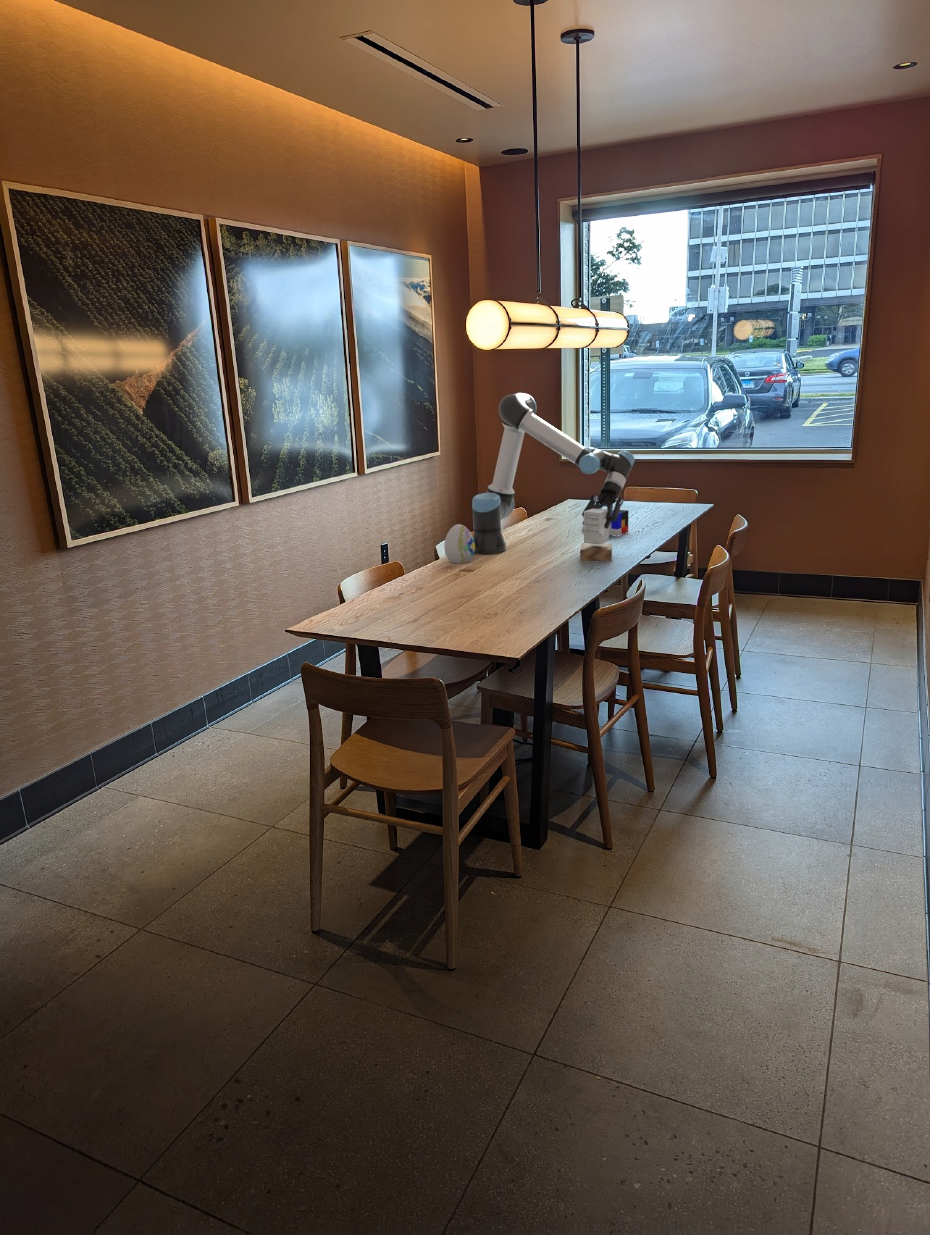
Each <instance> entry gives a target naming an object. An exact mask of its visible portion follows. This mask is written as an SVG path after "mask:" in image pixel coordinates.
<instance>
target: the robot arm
mask: <svg viewBox="0 0 930 1235" xmlns="http://www.w3.org/2000/svg"><path fill="white" fill-rule="evenodd" d="M537 408H538V407H537V403H536V401H535V399H534V397H533V396H531V395H530V394H528V393H524V392H516V393H511V394H508V395H505V396H504V397H503V398H502V399H501V400H500V402H499V404H498V414H499V416H500V418H501V419H502V421H501V425H502V426H503V427H504V431H503V435H502V438H501V443H500V448H499V451H498V456H497V461H496V465H495V471H494V475H493V480H492V483H491V484H489V485H488V486H487V489H486V492H483V493H479V494H476V495H475V496H473V498H472V500H471V501H472V504H471V507H472V524H473V525H472V526H473V527H472V528H473V534H472V536H473V539H474V543H475V552H474V554H477V555H478V554H479V555H491V554H499V553H503V552H505V551H507V544H506V541H505V539H504V536H503V534H502V520H505V519H506V518H507V517H510V515H511V514H512V512H513V511H514V510H515V499H514V497H515V493H516V492H515V490H514V488H513V485H514V482H515V481H514V480H515V477H516V472H517V468H518V464H519V463H518V462H519V459H520V454H521V450H522V447H523V442H524V437H525V433H526V434H528V435H530V436H531V437H533V438H534V439H536V440H537V441H539V442H541V443H542V444H544V446H546V447H548V448H550V449H551V450H553V451H554V452H555V453H557V454H559V455H560V456H562V457H563V458H565V459H566V460H568V461H570V462H571V463H573V464H574V465H576V466H577V467H579V470H580V471H581V472H582V473H583V474H586V475H591V474H595V473H597V471H599V470H600V471H603V472H606V473H608V474H607V476H606V478H605V480H604V483H603V485H602V486H601V489H600V493H599V494H598V495H596V496H595V494H592V495H591V497H590V500H589V502H588V503H587V505H586V507H585V508H584V510H583V511H582V513H581V516H582V518H584V511H587V510H590V509H603V507H606V510H608V512H607V517H606V518H607V519H604V521H603V524H602V526H601V528H600V530H599V532H598V533H599V534H600V536H602V537H603V535H604V533H605V530H606V529H608V527H609V525H610V523H611V522H612V521H614V522H616V521H617V518H618V514H619V511H620V510H621V507H622V505H623V504H624V500H623V498H622V497H621V496H620V495H621V493H622V490H623V488H624V487H625V484H626V481H627V480H628V477H629V476H630V473H631V471H632V469H633V466H634V463H635V461H636V459H635V456H634V455H633V454H632V453H631V452H629V451H627V450H619V452H617V454H615V453H611V452H609V451H605V450H603V449H599V448H598V447H596V448H595V447H592V446H588V447H586V446H584V445H582V444H581V443H579V442H577V441H576V440H574V439H573V438H572V437H570V436H568V435H567V434H565V433H564V432H562V431H561V430H559V429H557V428H556V427H554V426H553V425H551V424H550V423H548V422H547V421H545V420H544V419H542V418H541V417H539V416H537V415H536V413H537ZM612 509H614V511H613V514H612ZM580 532H581V533H582V535H584V520H583V521H582V526H581V529H580Z"/></svg>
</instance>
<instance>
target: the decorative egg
mask: <svg viewBox="0 0 930 1235" xmlns="http://www.w3.org/2000/svg"><path fill="white" fill-rule="evenodd" d="M443 547H444V548H443V549H444V553H445V554H444V555H445V556H446V558H447V560H448V561H449V562H450V563H452V564H467V563H470V562H471V561H472V559H473V557H474V555H475V553H474V552H475V543H474V539H473V534H472V533H471V531H470V530H469V529H468V528H467V527H466V526H465V525H463V524H459V523H458V524H454V525H453V526H451V528H449V530H448V532H447V534H446V535H445V540H444V546H443Z"/></svg>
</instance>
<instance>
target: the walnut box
mask: <svg viewBox="0 0 930 1235" xmlns="http://www.w3.org/2000/svg"><path fill="white" fill-rule="evenodd" d="M579 550H580V551H579V560H580V561H579V562H581V561H611V562H612V558H613V557H612V556H613V543H612V542H611V543H610V542H609V543H607V542H605V543H602V544H590V543H584V542H582V543H581V545H580V549H579ZM581 563H582V562H581Z"/></svg>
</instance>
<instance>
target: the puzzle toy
mask: <svg viewBox="0 0 930 1235" xmlns="http://www.w3.org/2000/svg"><path fill="white" fill-rule="evenodd" d="M613 511H614V508H613V509H612V514H613ZM626 532H628V533H629V510H625V509H620V511H619V514H618V518H617V521H616V522H614V521H612V522H611V523H610V525H609V535H616V536H615V537H619V536H618V535H620V536H622V535H621V534H623V533H625V534H627V533H626ZM623 535H624V534H623Z"/></svg>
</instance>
